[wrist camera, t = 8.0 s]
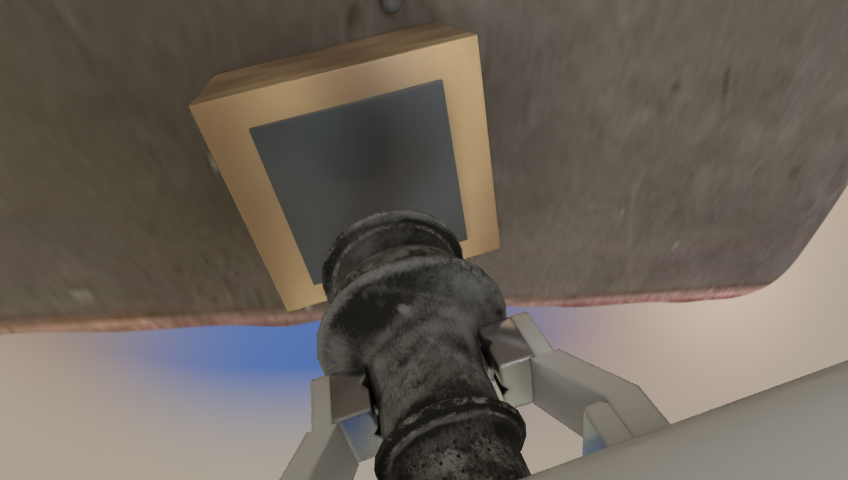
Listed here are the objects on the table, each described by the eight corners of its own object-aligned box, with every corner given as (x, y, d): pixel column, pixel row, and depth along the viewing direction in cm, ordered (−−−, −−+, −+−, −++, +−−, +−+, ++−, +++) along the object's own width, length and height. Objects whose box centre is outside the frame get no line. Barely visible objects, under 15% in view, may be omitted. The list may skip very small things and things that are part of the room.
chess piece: (448, 333, 18) (624, 753, 8) (305, 332, 17) (314, 868, 7) (489, 209, 16) (815, 609, 6) (323, 191, 14) (384, 735, 4)
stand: (290, 249, 31) (287, 316, 25) (214, 74, 24) (186, 108, 18) (464, 199, 32) (502, 250, 26) (437, 21, 26) (479, 34, 20)
